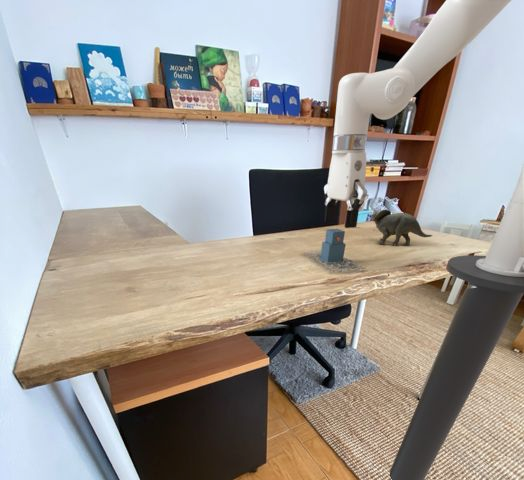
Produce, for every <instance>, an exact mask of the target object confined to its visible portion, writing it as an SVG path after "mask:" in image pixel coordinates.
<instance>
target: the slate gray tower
mask: <svg viewBox="0 0 524 480" xmlns="http://www.w3.org/2000/svg"><path fill="white" fill-rule="evenodd" d="M345 233H346V231H345V230H342V229H339V228H329V229H326V231H325V239H324V241H322V242H321V249H320V250H321V252H320V254H321V256H319V258H320V259H321V260H323V261H322V262H323V263H325V262H329V263H328V264H329V265H330V263H331V262H332V263H331V264H334V262H339V261H340V262H339V263H343V262H344V258H345V250H346V243H344V241H345ZM320 259H319V260H320ZM321 260H320V261H321ZM342 261H343V262H342ZM328 264H327V265H328Z"/></svg>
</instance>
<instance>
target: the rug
mask: <svg viewBox="0 0 524 480" xmlns="http://www.w3.org/2000/svg"><path fill="white" fill-rule="evenodd" d="M302 254H303V255H304V256H305V255H306V256H308V257H311V258H313V261H314V262H316V263H317V264H319V265H320V264H321V265H322V266H323V267H324V268H328V270H329V272H331V273H339V272H340V273H341V272H345V271H350V270H352V271H354V270H356V271H358V270H359V271H363V270H364V269H366V270H368V269H367V267H365V266H364V265H359V264H357V263H356V262H354V261H352V260H351V259H348V258H347V257H346V258H345V257H344V260H343V261H342V262H340V261H339V262H334V263H332V262H331V263H329V262H323V260H321V259H320V257H321V249H319V250H312V251H306V252H304V251H302ZM328 263H329V264H328Z"/></svg>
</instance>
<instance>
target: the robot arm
mask: <svg viewBox="0 0 524 480" xmlns="http://www.w3.org/2000/svg"><path fill="white" fill-rule="evenodd" d="M511 2H512V0H445V1H444V2H443V4H442V5H441V6H440V8H438V10H437V11H436V13H435V14H434V16H433V17H432V19H430V22H428V25H427V26H426V27H425V28H424V30H423V31H422V33H421V34H420V36H419V37H418V38H417V39H416V40H415V42H414V43H413V44H412V45H411V47H410V48H409V49H408V50H407V51H406V52H405V54H404V55H403V56H402V57H401V58H400V59H399V61H398V62H396V64H395V65H394V66H393V67H391V68H388V69H384V70H380V71H376V72H375V71H374V72H352V73H348V74H346V75H344V76H342V77H341V78H340V79H339V82H338V85H337V86H338V87H337V95H336V108H335V118H334V127H333V139H332V151H331V154H332V155H331V159H330V165H329V171H328V177H327V183H326V184H325V185H324V187H323V191H324V196H323V197H324V200H325V202H324V205H325V211H324V222H325V223H329V222H335V221H336V220H337V211H338V205H337V203H338V201H343V202H345V203H346V205H347V209H348V210H346V212H345V220H344V228H345V229H350V228H356V227H357V225H358V220H359V219H358V218H359V213H360V210H361V209H362V206H363V205H364V203H365V199H366V197H367V195H368V190H367V189H366V187H365V185H366V177H367V176H366V175H367V152H366V146H367V138H368V131H369V124H370V119H371V118H370V117H371V115H372V114H373V116H374V117H375V118H376V119H379V120H383V121H384V120H385V121H386V120H389V119H392V118H394V117H395V116H396V115H398V114H399V113H401V112H402V111H403V110H404V109H405V108H407V106H408V104H410V103H411V100H412V99H413V97H414V96H415V95H416V94H417V93H418V92H419V91H420V90H421V89H422V88H423V87H424V86H425V85H426V84H427V83H428V82H429V81H430V80H431V79H432V78H433V77H434V76H435V75H436V74H437V73H438V72H439V71H440V70H441V69H442V68H443V67H445V66H446V65H447V64H448V63H450V62H451V61H452V60H453V59H454V58H456V57H457V56H458V55H459V54H460V53H461V52H462V51H463V50H464V49H466V48H467V46H468V45H470V44H471V43H472V42H473V40H474V39H476V38H477V36H479V34H480V33H482V31H483V30H484V29H486V27H487V26H488V25H489V24H490V23H491V22H492V21H493V20H494V19H495V18H496V17H497V16H498V15H499V14H500V13H501V12H502V11H503V10H504V9H505V7H506V6H507V5H508V4H509V3H511ZM485 256H486V258H484V259H479V260H477V262H476V264H475V265H476V266H477V267H478V268H479V269H481V270H484V271H487V272H490V273H494V274H498V275H504V276H511V277H524V162H522V168H521V172H520V174H519V178H518V180H517V182H516V186H515V188H514V191H513V192H512V195H511V198H510V200H509V201H508V204H507V207H506V209H505V211H504V213H503V216H502V218H501V220H500V223H499V226H498V228H497V230H496V232H495V235H494V237H493V239H492V242H491V243H490V246H489V249H488V251H487V253H486V255H485Z"/></svg>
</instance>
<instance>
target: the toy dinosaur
mask: <svg viewBox="0 0 524 480" xmlns="http://www.w3.org/2000/svg"><path fill="white" fill-rule="evenodd" d="M371 209H372V210H373V211H372V214H371V217H370V218H371V221H372V222H374V223H375V227H376V229H378V231H379V232H380V233H381V234H382V238H379V241H378V242H377V244H378V245H383V246H384V245H385V244H386V241H387V239H388V238H390V237H391V236H395V240H394V241H393V242H391V243H390V245H391V246H394V247H395V246H398V245H399V243H400V239H401V238H402V237H403V238H404V240H405V242H404V243H403V244H402V245H403V246H409V245H410V244H411V237H410V236H409V233H411V234H413V235H416V236H419V237H422V238H431V237H433V234H427V233H425V232H423V230H422V227H421V225H420V223H419V221H418V220H417V219H416V217H415V216H414V215H412V214H410V213H407V212H397V213H392V212H391V210H389V209H382V208H381V206H380V204H378V210H377V209H376V208H374V207H373V206H371Z"/></svg>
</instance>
